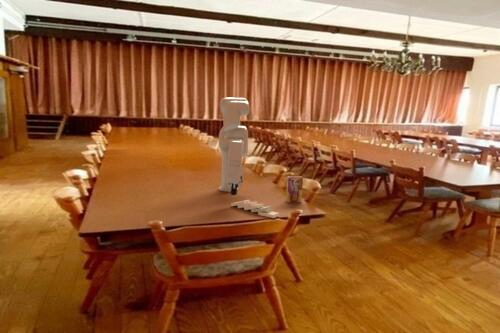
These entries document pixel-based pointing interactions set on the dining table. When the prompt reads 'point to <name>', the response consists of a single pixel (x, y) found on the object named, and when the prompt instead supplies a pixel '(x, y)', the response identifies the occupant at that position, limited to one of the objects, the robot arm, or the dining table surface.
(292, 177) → the candy box
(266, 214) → the domino
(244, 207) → the domino
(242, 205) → the domino
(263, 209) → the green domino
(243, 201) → the domino
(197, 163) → the dining table surface
